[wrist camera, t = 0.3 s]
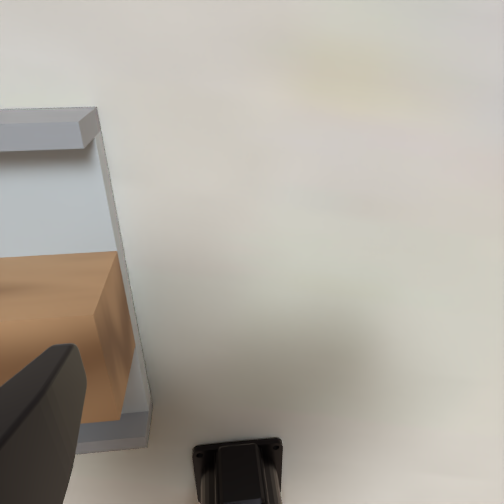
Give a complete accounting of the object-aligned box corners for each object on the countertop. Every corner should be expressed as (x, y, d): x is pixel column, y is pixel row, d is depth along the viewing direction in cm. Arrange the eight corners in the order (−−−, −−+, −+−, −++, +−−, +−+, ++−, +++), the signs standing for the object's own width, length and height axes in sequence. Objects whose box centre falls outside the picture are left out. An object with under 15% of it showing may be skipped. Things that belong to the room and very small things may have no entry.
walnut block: (135, 344, 23) (119, 419, 19) (23, 353, 22) (-20, 432, 18) (117, 250, 20) (93, 315, 16) (-13, 258, 19) (-75, 326, 15)
